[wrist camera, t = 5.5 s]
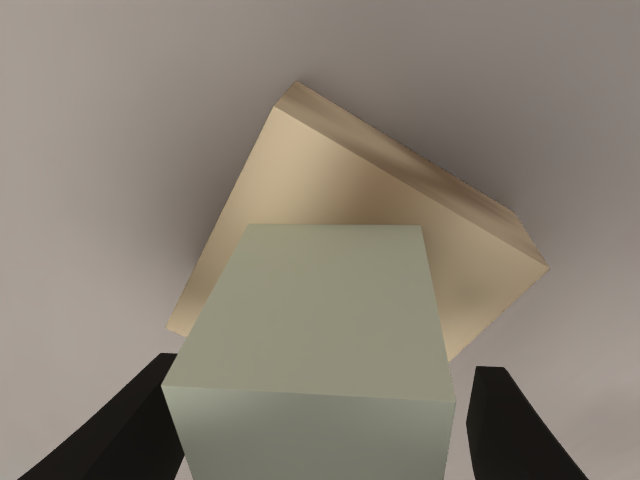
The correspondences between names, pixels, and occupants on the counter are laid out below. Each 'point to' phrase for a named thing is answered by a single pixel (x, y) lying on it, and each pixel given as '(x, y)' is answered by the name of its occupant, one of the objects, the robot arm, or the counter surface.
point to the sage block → (317, 360)
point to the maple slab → (371, 212)
